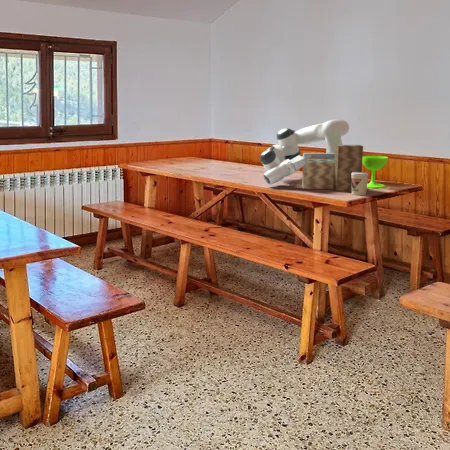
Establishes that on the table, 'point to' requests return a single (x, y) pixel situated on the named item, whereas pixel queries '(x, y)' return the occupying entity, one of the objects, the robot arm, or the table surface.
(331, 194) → the table surface
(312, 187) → the zigzag patterned box
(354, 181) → the coffee cup
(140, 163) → the table surface
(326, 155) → the batten
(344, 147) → the tall brown box
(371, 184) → the wineglass
